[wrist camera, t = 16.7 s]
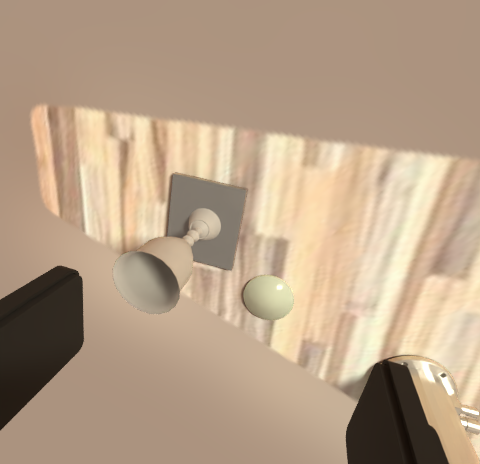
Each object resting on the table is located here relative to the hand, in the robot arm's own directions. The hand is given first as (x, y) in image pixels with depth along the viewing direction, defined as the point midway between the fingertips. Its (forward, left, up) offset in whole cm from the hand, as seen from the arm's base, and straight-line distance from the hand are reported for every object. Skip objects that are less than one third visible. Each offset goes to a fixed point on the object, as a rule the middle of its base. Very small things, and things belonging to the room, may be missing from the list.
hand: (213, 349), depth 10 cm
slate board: (+11, +11, -36) cm, 39 cm away
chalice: (+11, +11, -36) cm, 39 cm away
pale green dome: (-1, +21, -37) cm, 42 cm away
